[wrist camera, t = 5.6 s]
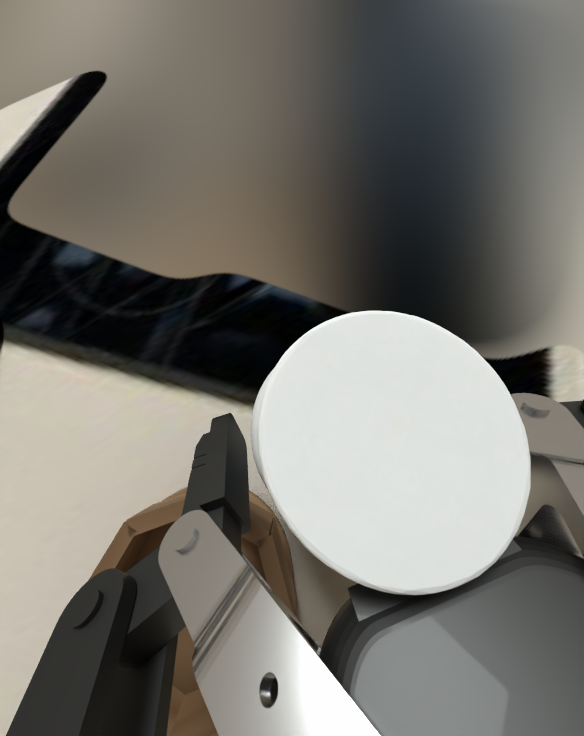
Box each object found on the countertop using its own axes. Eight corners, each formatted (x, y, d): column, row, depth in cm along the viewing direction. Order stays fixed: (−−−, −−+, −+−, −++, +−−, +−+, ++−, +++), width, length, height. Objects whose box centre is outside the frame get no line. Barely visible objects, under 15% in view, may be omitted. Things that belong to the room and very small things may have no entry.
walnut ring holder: (110, 514, 13) (62, 538, 10) (264, 459, 14) (258, 468, 11) (131, 729, 11) (75, 834, 8) (317, 646, 11) (324, 716, 9)
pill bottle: (377, 445, 14) (675, 524, 3) (297, 490, 13) (323, 794, 2) (333, 367, 15) (435, 235, 5) (258, 404, 15) (162, 354, 4)
